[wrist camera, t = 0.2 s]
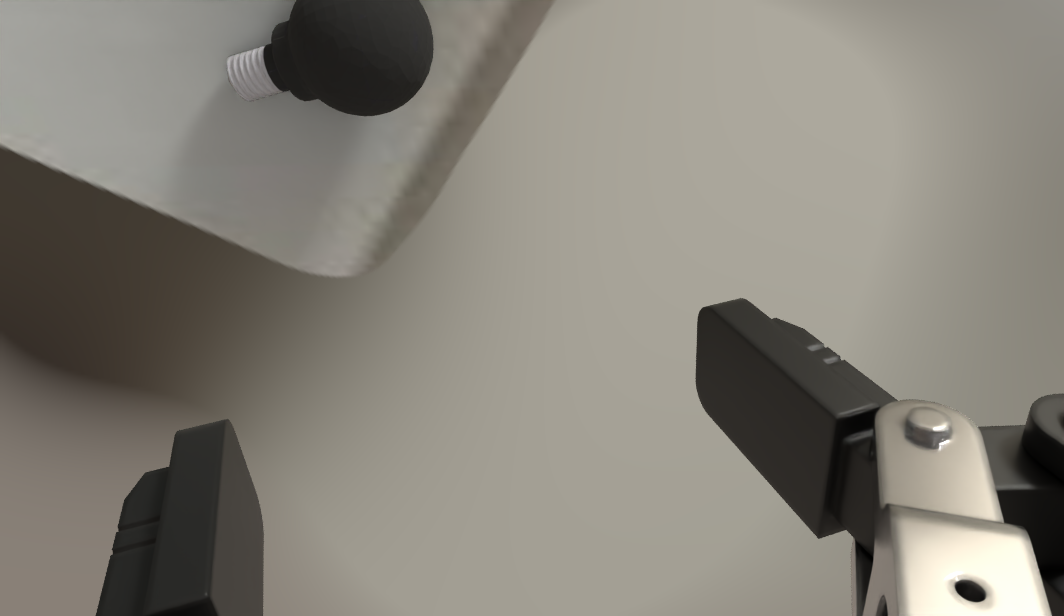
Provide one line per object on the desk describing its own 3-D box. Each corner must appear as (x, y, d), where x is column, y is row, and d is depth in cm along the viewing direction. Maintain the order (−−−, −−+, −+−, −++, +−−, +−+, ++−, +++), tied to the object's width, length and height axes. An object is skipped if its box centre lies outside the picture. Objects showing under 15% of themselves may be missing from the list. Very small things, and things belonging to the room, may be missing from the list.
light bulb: (164, 52, 30) (389, -17, 29) (210, -12, 35) (407, -76, 33) (248, 176, 35) (448, 123, 33) (279, 105, 39) (457, 54, 37)
